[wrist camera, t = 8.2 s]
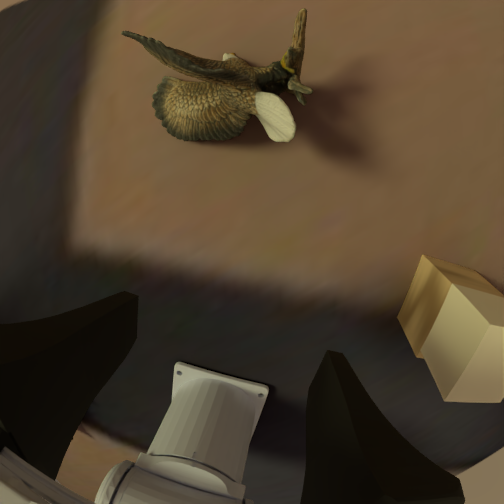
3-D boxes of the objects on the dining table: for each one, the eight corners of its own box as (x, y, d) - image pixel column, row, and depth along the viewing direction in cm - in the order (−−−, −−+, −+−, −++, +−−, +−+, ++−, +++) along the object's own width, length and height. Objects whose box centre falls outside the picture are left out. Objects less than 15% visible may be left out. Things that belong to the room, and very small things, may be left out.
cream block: (472, 358, 16) (499, 402, 12) (420, 350, 16) (443, 401, 12) (503, 297, 14) (542, 335, 10) (452, 283, 15) (490, 324, 10)
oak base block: (448, 327, 21) (473, 365, 16) (396, 317, 21) (416, 357, 16) (474, 270, 19) (508, 299, 14) (422, 254, 19) (451, 283, 15)
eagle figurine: (291, 1, 14) (133, 18, 14) (328, 17, 9) (87, 45, 9) (290, 111, 21) (154, 124, 20) (316, 174, 16) (131, 191, 16)
